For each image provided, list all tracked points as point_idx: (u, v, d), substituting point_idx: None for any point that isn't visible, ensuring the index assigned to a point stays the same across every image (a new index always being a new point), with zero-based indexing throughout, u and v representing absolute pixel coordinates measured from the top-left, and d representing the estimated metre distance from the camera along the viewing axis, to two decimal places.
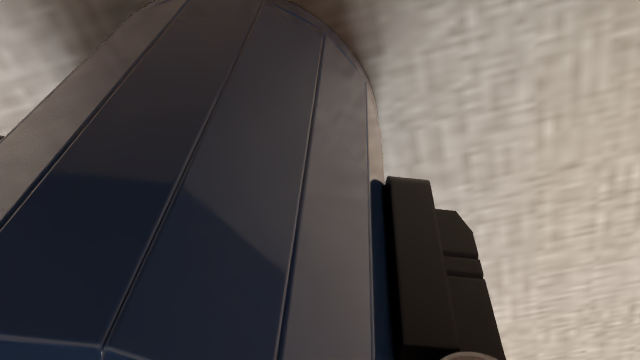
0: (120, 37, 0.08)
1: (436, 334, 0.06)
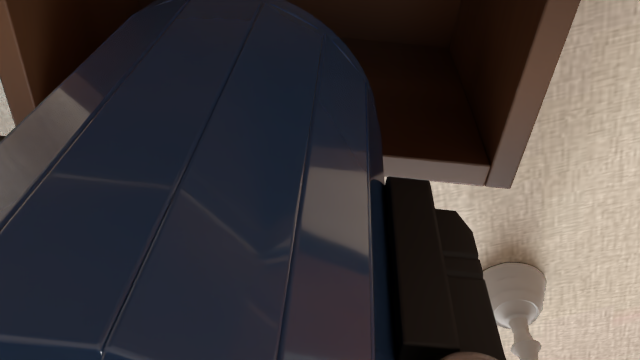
0: (120, 37, 0.08)
1: (436, 334, 0.06)
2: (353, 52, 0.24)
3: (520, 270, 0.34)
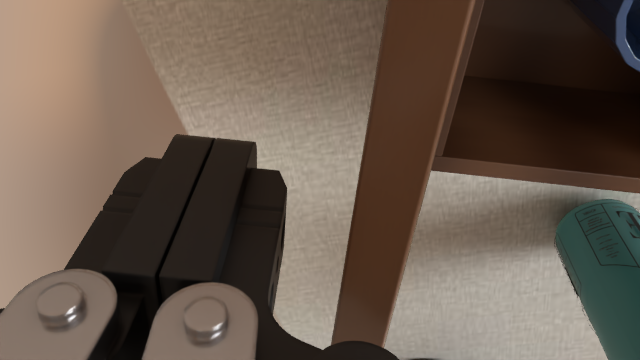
0: None
1: (196, 269, 0.07)
2: None
3: None
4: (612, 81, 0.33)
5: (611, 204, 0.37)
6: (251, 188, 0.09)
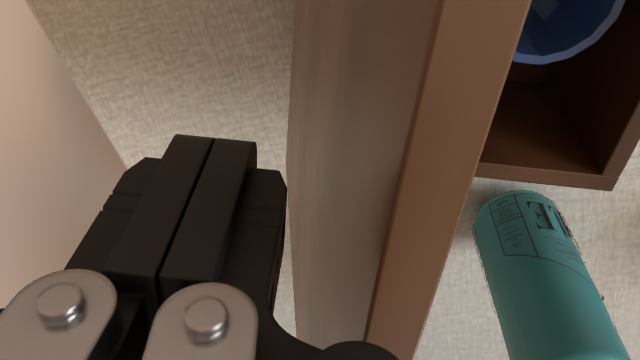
0: None
1: (196, 269, 0.07)
2: None
3: None
4: (514, 70, 0.33)
5: (524, 195, 0.37)
6: (251, 188, 0.09)
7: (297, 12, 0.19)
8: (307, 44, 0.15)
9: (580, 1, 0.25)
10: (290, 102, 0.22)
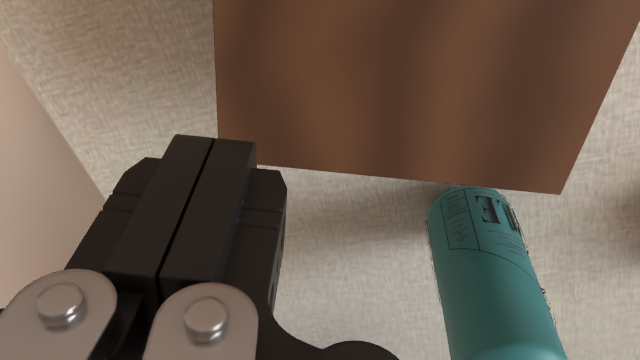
0: None
1: (196, 269, 0.07)
2: None
3: None
4: None
5: (474, 189, 0.37)
6: (251, 188, 0.09)
7: None
8: None
9: None
10: (234, 92, 0.23)
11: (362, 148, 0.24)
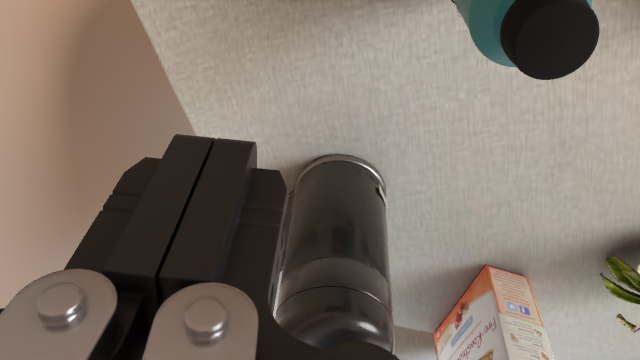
0: None
1: (196, 269, 0.07)
2: None
3: None
4: None
5: None
6: (251, 188, 0.09)
7: None
8: None
9: None
10: None
11: None
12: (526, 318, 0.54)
